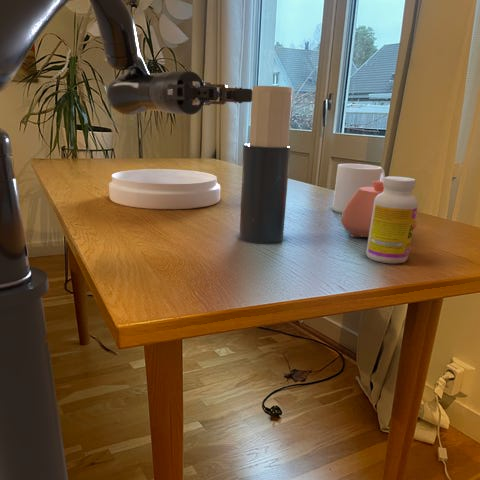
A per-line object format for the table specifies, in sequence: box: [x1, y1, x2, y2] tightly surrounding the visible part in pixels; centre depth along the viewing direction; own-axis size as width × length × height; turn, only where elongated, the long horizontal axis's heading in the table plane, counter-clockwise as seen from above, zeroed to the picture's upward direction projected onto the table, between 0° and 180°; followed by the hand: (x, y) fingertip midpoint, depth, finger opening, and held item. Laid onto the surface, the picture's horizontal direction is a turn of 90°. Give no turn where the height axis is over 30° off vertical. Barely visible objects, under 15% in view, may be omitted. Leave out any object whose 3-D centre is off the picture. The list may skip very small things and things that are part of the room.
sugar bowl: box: [340, 181, 418, 238], centre depth 90 cm, size 12×14×10 cm
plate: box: [108, 168, 221, 210], centre depth 117 cm, size 27×27×6 cm
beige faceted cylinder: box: [249, 85, 293, 148], centre depth 79 cm, size 6×7×9 cm
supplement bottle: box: [365, 175, 419, 265], centre depth 76 cm, size 7×7×13 cm
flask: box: [239, 143, 291, 245], centre depth 83 cm, size 8×8×20 cm
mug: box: [332, 163, 386, 214], centre depth 112 cm, size 13×10×10 cm
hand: (233, 94), depth 83 cm, fingers open, 8 cm apart
